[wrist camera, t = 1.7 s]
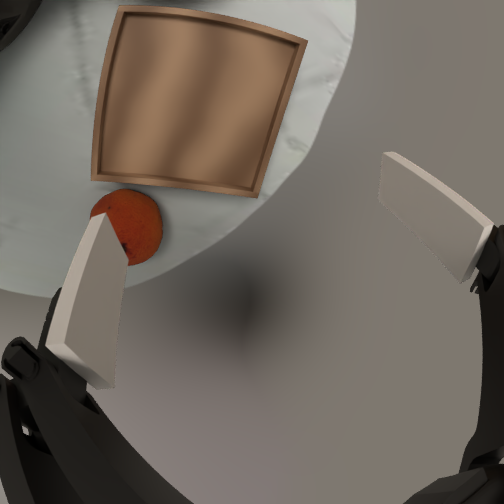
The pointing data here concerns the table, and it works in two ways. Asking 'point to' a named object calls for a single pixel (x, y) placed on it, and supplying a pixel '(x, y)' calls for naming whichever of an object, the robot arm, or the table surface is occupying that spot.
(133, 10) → the tray
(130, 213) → the fruit
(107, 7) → the table surface
